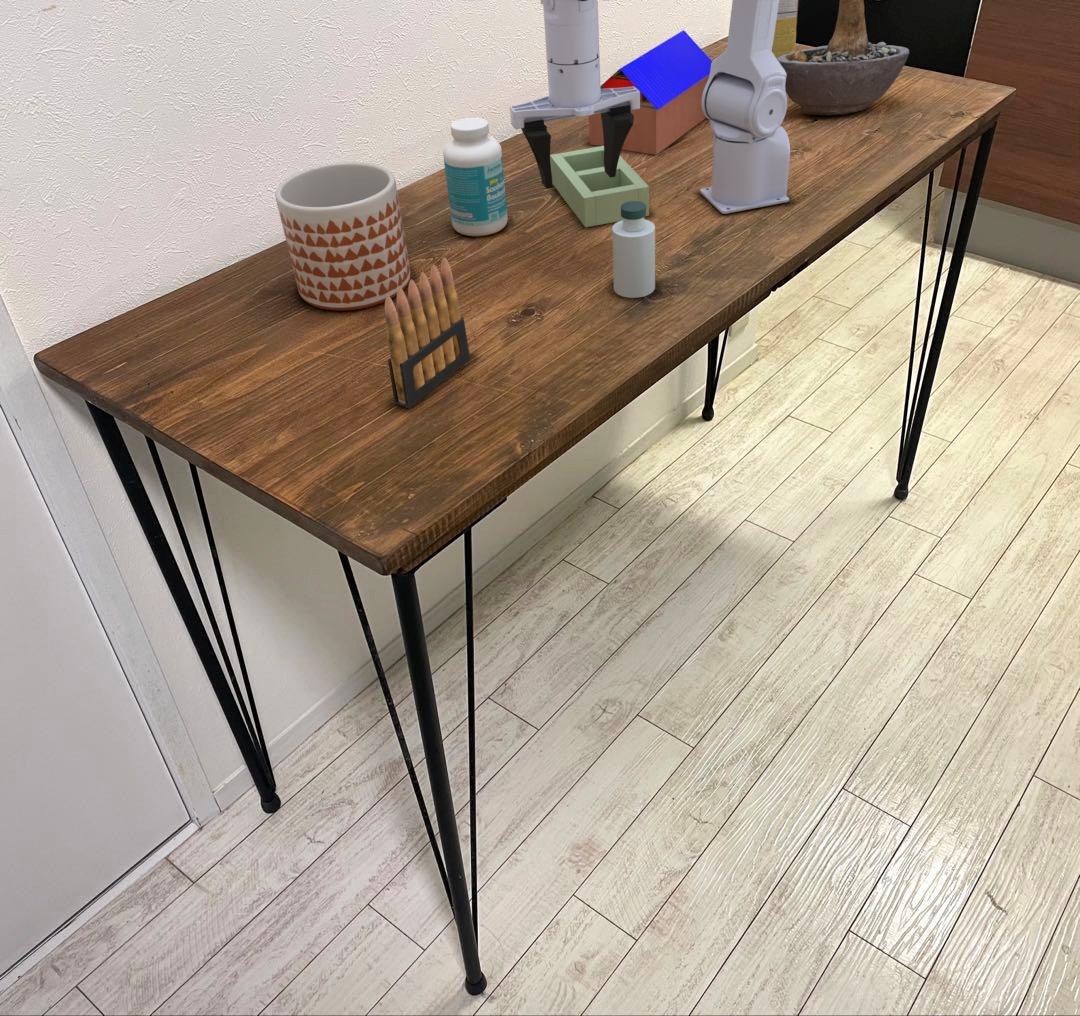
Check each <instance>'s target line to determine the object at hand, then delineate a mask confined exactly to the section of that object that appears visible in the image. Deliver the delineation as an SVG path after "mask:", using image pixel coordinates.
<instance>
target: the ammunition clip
mask: <svg viewBox="0 0 1080 1016" xmlns="http://www.w3.org/2000/svg"><path fill="white" fill-rule="evenodd" d="M440 263H441V264H440V271H439V270H438V267H437V266H436V265H435V264H432V265H431V267H430V272H429V273H430V275H429V279H428V276H427V275H426V273H425V272H424V271H421V272H420V276H419V282H418V283H419V286H418V287H419V289H418V287H417V285H416V283H415V281H414V280H413V279H410V281H409V283H408V291H407V292H408V293H407V295H408V298H407V296H406V294H405V291H404V290H402V289H401V288H398V291H397V295H396V305H395V303H394V301H393V300H392V298H390V297H389V296H387V297H386V300H385V302H384V318H385V326H386V339H387V340H386V341H387V346H388V347H387V348H388V352H389V357H390V358H389V359H387V363H388V364H387V365H388V370H389V374H390V375H389V376H390V382H391V389H392V395H393V400H394V404H395V405H397V406H400V407H403V408H407V409H411V408H413V406H415V404H417V403H418V402H419V401H421V400H422V399H423V398H424V397H425V396H427V395H428V394H429V393H430V392H432V391H433V390H434V389H436V388H437V387H438V386H439V385H441V384H442V383H443V382H444V381H445V380H446V379H448V378H449V377H450V376H451V375H453V374H454V373H456V372H457V371H458V370H459V369H460V368H461V367H463V366H464V365H465V364H466V363H468V362H469V361H471V354H470V349H469V348H470V347H469V341H468V336H467V331H466V323H465V318H464V317H463V316H461V312H460V303H459V296H458V293H457V291H456V287H455V282H454V277H453V276H454V275H453V274H452V273H453V272H452V268H451V266H450V263H449V261H448V260H447V258H446V257H445V256H443V257H442V259H441V262H440Z"/></svg>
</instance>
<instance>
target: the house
mask: <svg viewBox="0 0 1080 1016" xmlns="http://www.w3.org/2000/svg"><path fill="white" fill-rule="evenodd" d="M712 62H713V60H712V59H711V58H710V57H709V56H708V55H707V54H706V53H705V51H703V49H702V48H701V47H700V46H699V45H698V44H697V43H696V41H694V39H693V38H692V37H690V35H689V34H688V33H687V32H686V30H684V29H683V30H681V31H680V32H678V33H676V34H675V35H673V36H671V37H669V38H668V39H666V40H665V41H663V42H661V43H660V44H658V45H656V46H655V47H653V48H651V49H650V50H648V51H646V52H644V53H643V54H642V55H640V56H638V57H636V58H635V59H633V60H632V61H630V62H628V63H627V64H625V65H624V66H622V67H620V68H619V69H618V70H617V71H615V72H614V73H612V75H611V76H610V77H609V78H608V79H606V80H605V81H604V82H603V83H602V84H600V88H601V89H608V88H625V87H633V86H634V87H635V88H636V89H638V90H639V91H640V109H635V110H631V113H632V114H633V115H634V123H633V126H632V128H631V129H630V131H629V133H628V135H627V137H626V139H625V142H624V144H623V147H622V150H623V151H629V152H636V153H642V154H648V155H653V156H657V155H658V154H660V153H662V151H664V150H665V149H666V148H668V147H669V146H670V145H672V144H673V143H674V142H676V141H677V140H679V139H681V137H682V136H683V135H685V134H686V133H688V132H689V131H690V130H692V129H694V128H695V127H696V126H697V125H698V124H700V123H701V122H703V121H704V120H705V119H707V118H706V116H705V115H704V113H703V110H702V94H703V91H704V88H705V86H706V84H707V81H708V79H709V75H710V69H711V63H712ZM588 130H589V133H588V134H589V135H588V136H589V145H594V146H597V147H600V146H604V136H603V127H602V119H601V113H598V114H593V115H589V116H588Z"/></svg>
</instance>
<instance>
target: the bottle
mask: <svg viewBox="0 0 1080 1016" xmlns="http://www.w3.org/2000/svg"><path fill="white" fill-rule="evenodd" d="M621 217H622V218H623V220H622V221H618V222H614V224H613V226H612V227H611V234H612V235H611V236H612V237H611V238H612V239H611V240H612V241H611V243H612V274H613V275H612V276H613V278H612V279H613V291H614V293H615V294H616V295H618V296H621V297H623V298H629V299H636V298H638V299H639V298H643V297H646V296H647V297H648V296H649V295H651V294H652V293H653V292H654V291H655V289H656V225H655V223H654V222H652V221H650V220H648V219H645V217H647V216H646V204H645V203H643V202H639V201H629V202H626V203H623V204H622V205H621Z"/></svg>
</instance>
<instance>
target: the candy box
mask: <svg viewBox="0 0 1080 1016" xmlns="http://www.w3.org/2000/svg"><path fill="white" fill-rule="evenodd" d="M798 11H799V0H779V5H778V12H777V19H776V26H775V33H774V40H773V47H772V52H773V54H774V56H775V57H776V58H778V57H780V56H782V55H785V54H790V53H791V52H795V51H796V44H797V43H796V41H797V27H798V13H799V12H798Z"/></svg>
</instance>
